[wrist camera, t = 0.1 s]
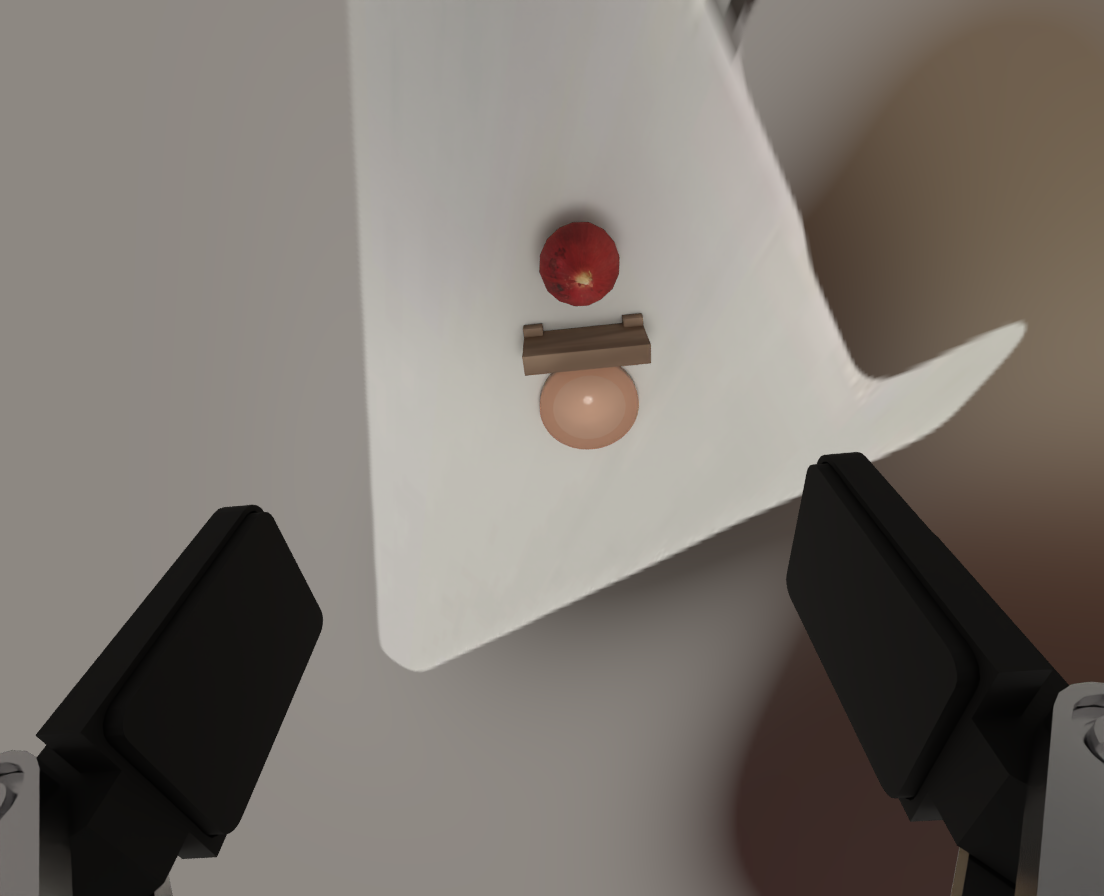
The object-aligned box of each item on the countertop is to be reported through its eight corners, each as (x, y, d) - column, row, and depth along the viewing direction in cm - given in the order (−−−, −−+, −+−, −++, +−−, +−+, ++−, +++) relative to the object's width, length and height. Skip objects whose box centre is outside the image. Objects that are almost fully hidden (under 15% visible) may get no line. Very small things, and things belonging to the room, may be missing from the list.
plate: (534, 362, 47) (534, 368, 46) (636, 352, 47) (638, 358, 46) (545, 446, 52) (545, 453, 51) (637, 438, 52) (639, 445, 51)
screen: (523, 325, 45) (521, 348, 41) (641, 313, 45) (650, 335, 41) (528, 357, 47) (526, 383, 43) (641, 346, 47) (650, 371, 42)
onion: (557, 299, 44) (558, 336, 38) (528, 232, 41) (524, 259, 35) (623, 271, 43) (637, 304, 36) (598, 200, 40) (608, 221, 33)
